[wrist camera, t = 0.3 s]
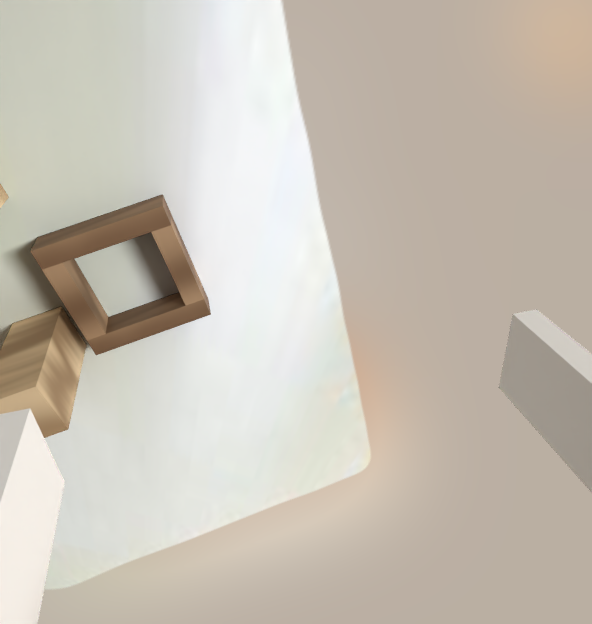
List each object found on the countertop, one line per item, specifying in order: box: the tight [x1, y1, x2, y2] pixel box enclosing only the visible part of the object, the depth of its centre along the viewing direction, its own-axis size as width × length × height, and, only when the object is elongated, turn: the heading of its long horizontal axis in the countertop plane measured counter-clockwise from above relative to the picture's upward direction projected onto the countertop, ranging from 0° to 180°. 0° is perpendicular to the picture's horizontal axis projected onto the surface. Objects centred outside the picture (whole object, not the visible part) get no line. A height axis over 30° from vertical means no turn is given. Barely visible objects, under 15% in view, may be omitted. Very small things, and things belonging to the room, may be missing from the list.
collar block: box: [30, 195, 211, 355], centre depth 38 cm, size 10×10×2 cm
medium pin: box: [0, 306, 86, 438], centre depth 37 cm, size 4×4×10 cm
